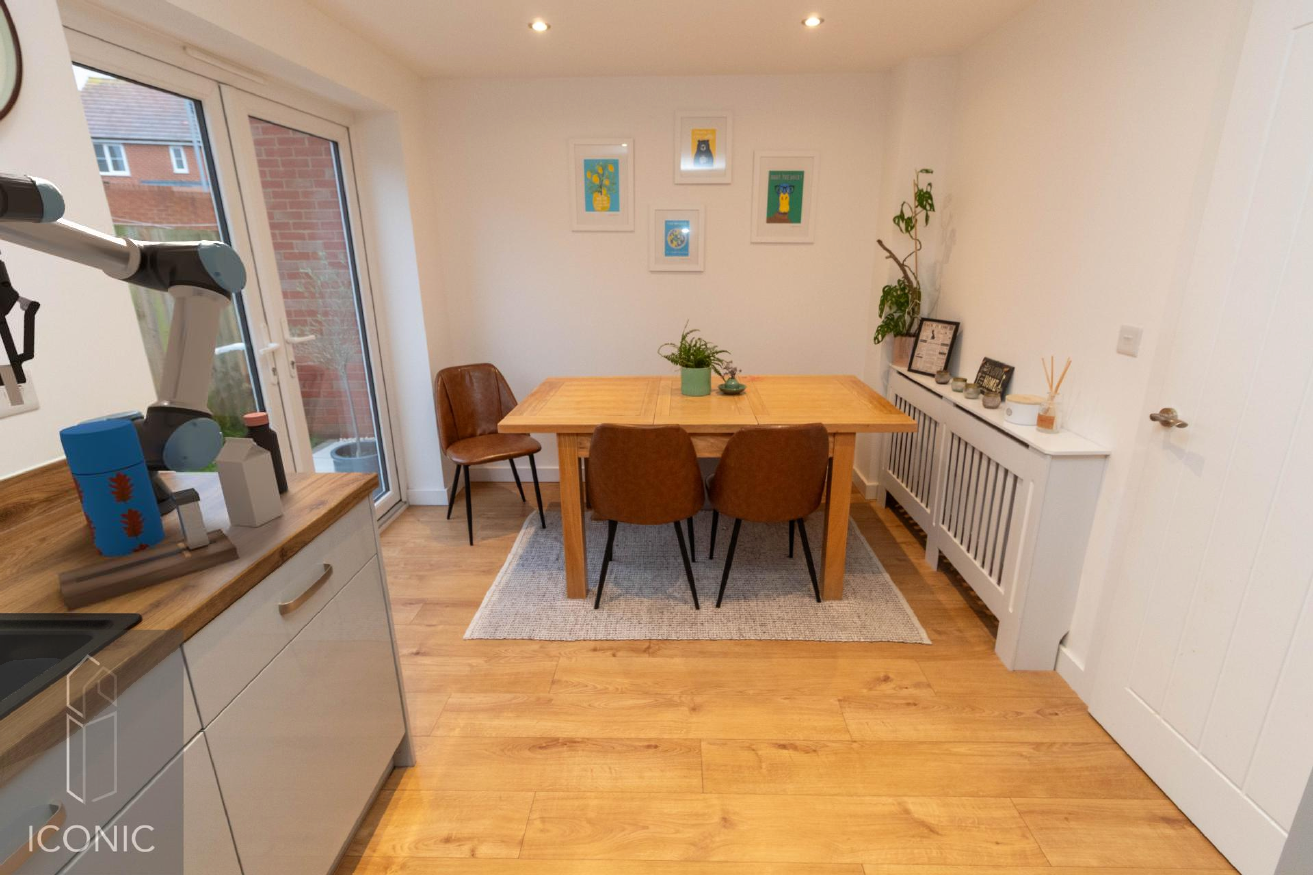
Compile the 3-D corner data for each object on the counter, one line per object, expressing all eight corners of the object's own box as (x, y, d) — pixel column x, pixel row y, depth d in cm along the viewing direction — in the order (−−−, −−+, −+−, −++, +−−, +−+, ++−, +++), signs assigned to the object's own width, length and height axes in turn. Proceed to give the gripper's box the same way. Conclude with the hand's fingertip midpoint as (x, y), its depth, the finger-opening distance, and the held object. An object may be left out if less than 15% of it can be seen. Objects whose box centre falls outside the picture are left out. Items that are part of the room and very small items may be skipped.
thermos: (108, 561, 113) (68, 437, 106) (88, 548, 119) (49, 429, 112) (175, 539, 122) (142, 423, 115) (154, 528, 128) (121, 416, 120)
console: (62, 586, 105) (57, 573, 104) (223, 539, 122) (220, 528, 121) (67, 611, 97) (63, 597, 96) (238, 558, 114) (235, 546, 113)
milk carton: (257, 527, 127) (237, 443, 121) (230, 525, 128) (209, 442, 123) (284, 514, 134) (266, 434, 128) (258, 512, 135) (240, 432, 130)
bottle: (277, 497, 143) (260, 418, 137) (249, 497, 143) (231, 418, 138) (294, 487, 150) (278, 411, 144) (267, 487, 150) (250, 411, 144)
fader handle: (183, 543, 114) (169, 493, 111) (206, 536, 116) (193, 487, 113) (188, 550, 111) (174, 499, 108) (211, 543, 113) (198, 493, 110)
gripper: (-100, 258, 86) (-42, 415, 92) (28, 257, 95) (72, 400, 102) (-95, 258, 91) (-40, 407, 97) (26, 257, 100) (69, 394, 106)
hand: (17, 403), depth 99 cm, fingers closed
